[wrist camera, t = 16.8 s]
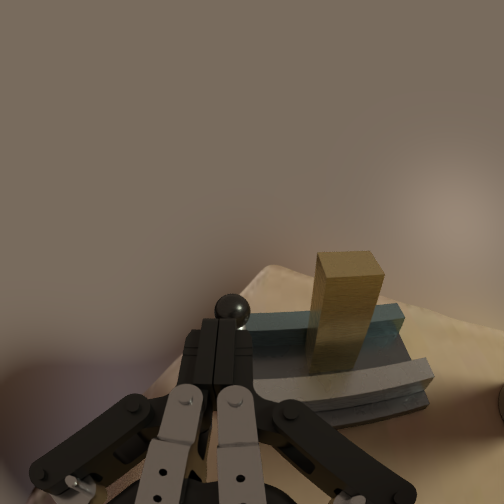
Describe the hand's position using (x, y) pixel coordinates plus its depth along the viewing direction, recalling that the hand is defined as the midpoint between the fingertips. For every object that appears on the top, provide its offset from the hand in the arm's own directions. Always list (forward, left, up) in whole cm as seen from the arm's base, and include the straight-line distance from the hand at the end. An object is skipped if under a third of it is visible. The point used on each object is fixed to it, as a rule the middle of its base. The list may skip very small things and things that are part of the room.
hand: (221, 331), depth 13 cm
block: (-10, -11, -18) cm, 24 cm away
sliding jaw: (-10, -5, -18) cm, 21 cm away
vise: (-10, -11, -19) cm, 25 cm away
